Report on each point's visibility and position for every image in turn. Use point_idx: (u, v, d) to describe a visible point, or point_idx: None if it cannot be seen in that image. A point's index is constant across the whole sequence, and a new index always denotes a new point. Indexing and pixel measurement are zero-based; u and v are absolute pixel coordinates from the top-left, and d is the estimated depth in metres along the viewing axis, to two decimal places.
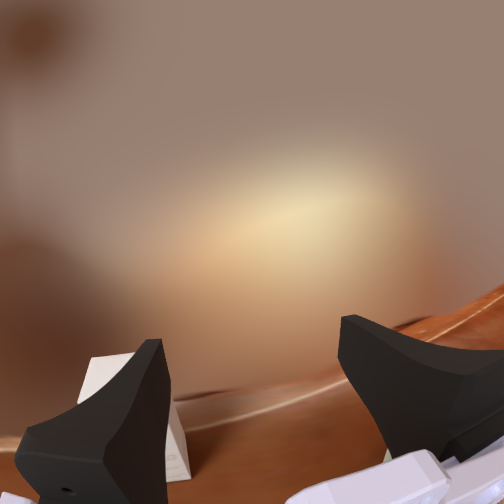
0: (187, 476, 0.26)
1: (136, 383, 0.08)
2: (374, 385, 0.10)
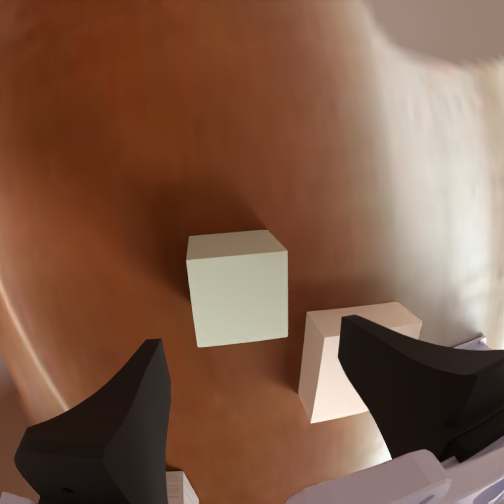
0: (184, 476, 0.26)
1: (136, 383, 0.08)
2: (374, 385, 0.10)
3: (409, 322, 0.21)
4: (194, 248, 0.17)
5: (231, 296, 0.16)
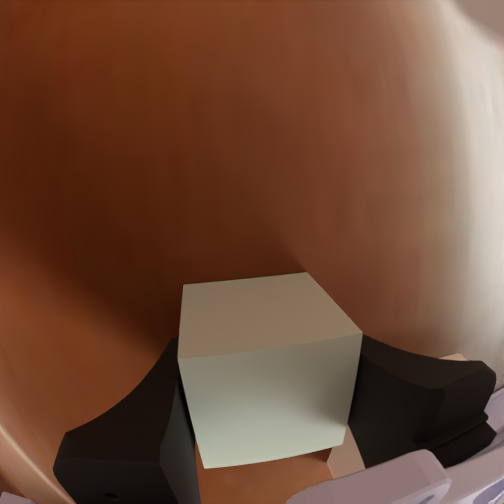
0: None
1: (172, 381, 0.08)
2: None
3: None
4: (192, 321, 0.10)
5: (261, 408, 0.09)
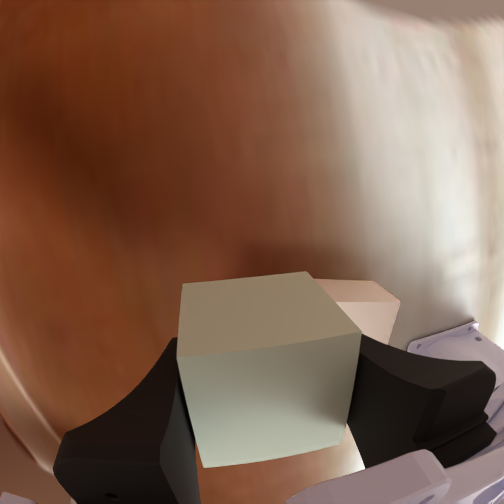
0: None
1: (172, 381, 0.08)
2: None
3: (385, 299, 0.19)
4: (191, 319, 0.10)
5: (260, 407, 0.09)
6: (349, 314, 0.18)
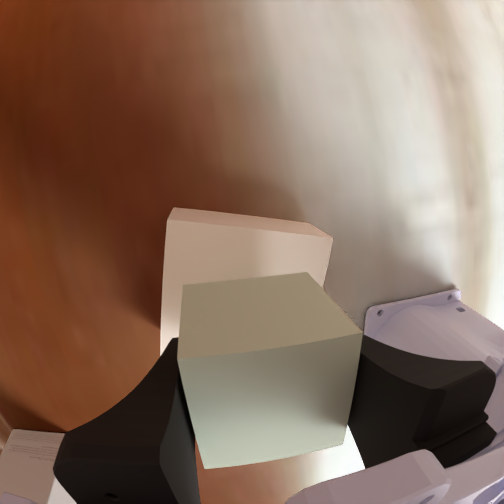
0: None
1: (172, 381, 0.08)
2: None
3: (312, 234, 0.16)
4: (192, 321, 0.09)
5: (261, 409, 0.09)
6: (258, 246, 0.15)
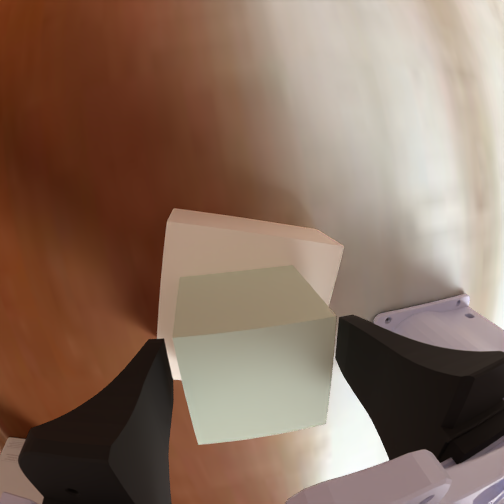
0: None
1: (140, 383, 0.08)
2: (371, 386, 0.10)
3: (322, 241, 0.15)
4: (186, 307, 0.11)
5: (247, 385, 0.10)
6: (264, 253, 0.14)
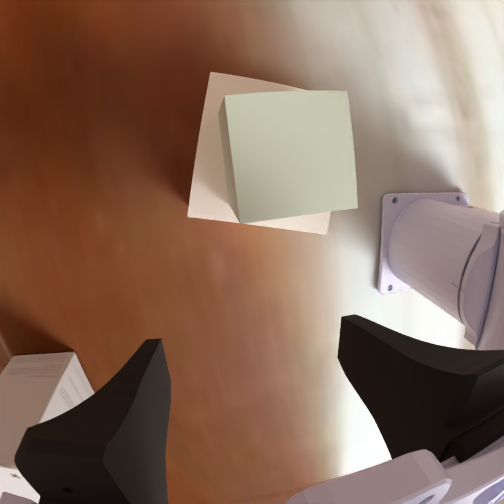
0: (74, 358, 0.21)
1: (136, 383, 0.08)
2: (374, 385, 0.10)
3: None
4: None
5: (284, 145, 0.12)
6: None
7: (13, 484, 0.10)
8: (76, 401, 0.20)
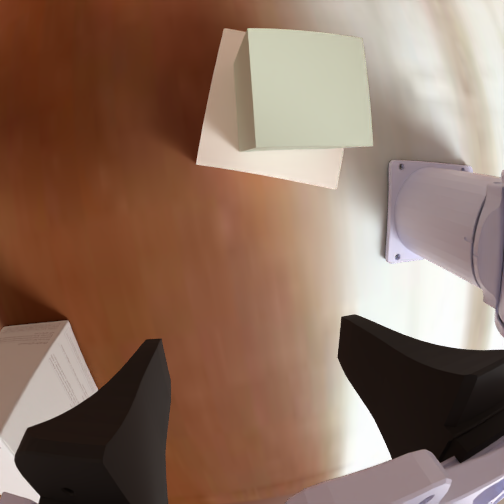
0: (67, 327, 0.21)
1: (136, 383, 0.08)
2: (374, 385, 0.10)
3: None
4: None
5: (303, 76, 0.11)
6: None
7: None
8: (68, 372, 0.19)
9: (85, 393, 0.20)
